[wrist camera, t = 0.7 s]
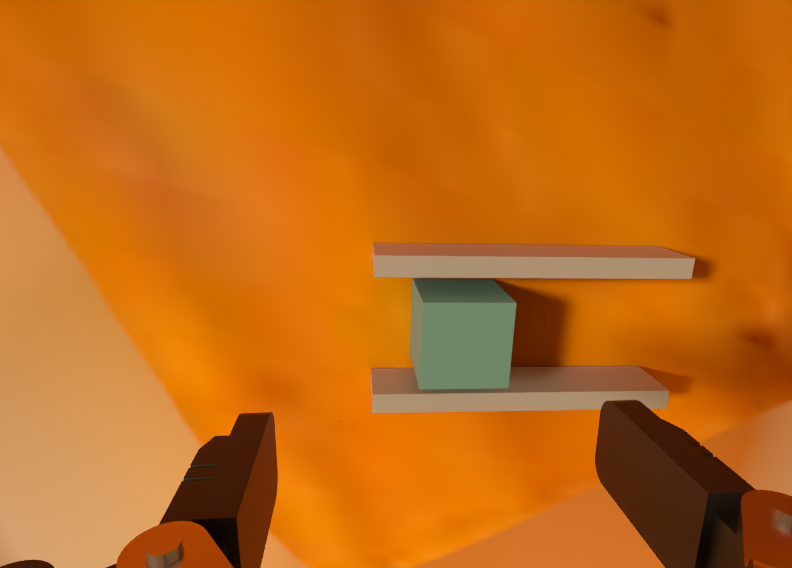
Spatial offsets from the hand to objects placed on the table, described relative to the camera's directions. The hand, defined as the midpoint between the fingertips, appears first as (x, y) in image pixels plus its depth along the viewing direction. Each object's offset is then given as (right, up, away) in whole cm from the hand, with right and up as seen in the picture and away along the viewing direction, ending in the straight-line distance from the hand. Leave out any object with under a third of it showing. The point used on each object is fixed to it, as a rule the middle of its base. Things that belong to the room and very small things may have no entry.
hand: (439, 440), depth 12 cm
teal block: (+2, +2, +20) cm, 20 cm away
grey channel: (+6, +2, +20) cm, 21 cm away
